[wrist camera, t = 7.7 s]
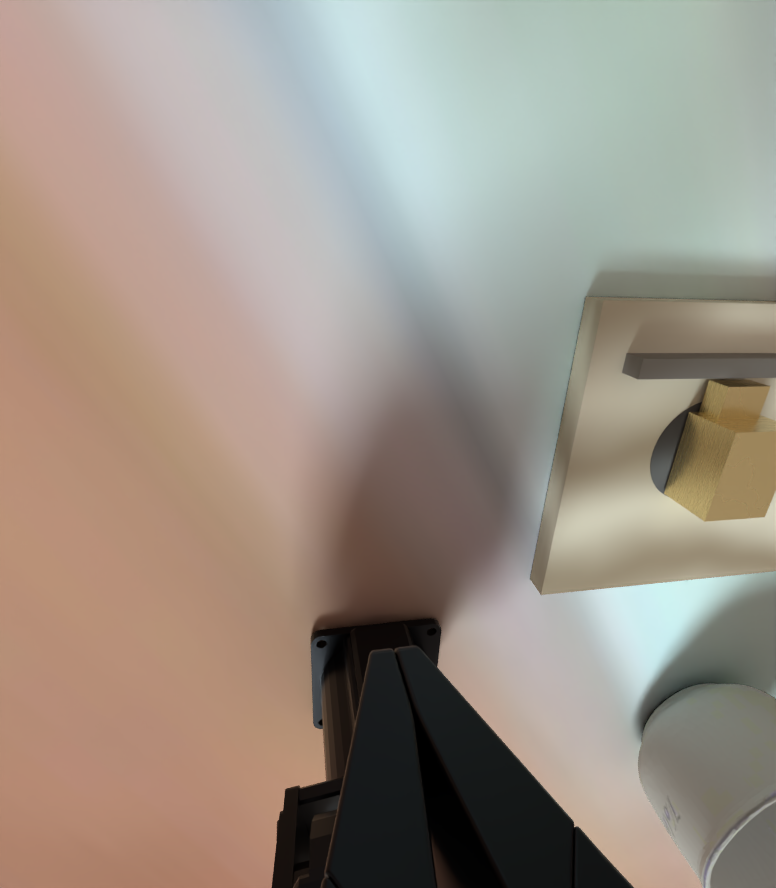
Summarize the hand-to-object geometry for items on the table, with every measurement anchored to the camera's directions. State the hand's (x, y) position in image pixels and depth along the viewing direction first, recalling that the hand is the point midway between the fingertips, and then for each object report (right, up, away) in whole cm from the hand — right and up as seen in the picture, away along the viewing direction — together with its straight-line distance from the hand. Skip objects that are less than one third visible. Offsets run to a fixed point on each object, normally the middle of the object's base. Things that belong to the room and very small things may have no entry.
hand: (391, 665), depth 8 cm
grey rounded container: (+21, -15, +25) cm, 36 cm away
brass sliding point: (+14, +3, +13) cm, 20 cm away
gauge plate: (+17, +4, +15) cm, 23 cm away
